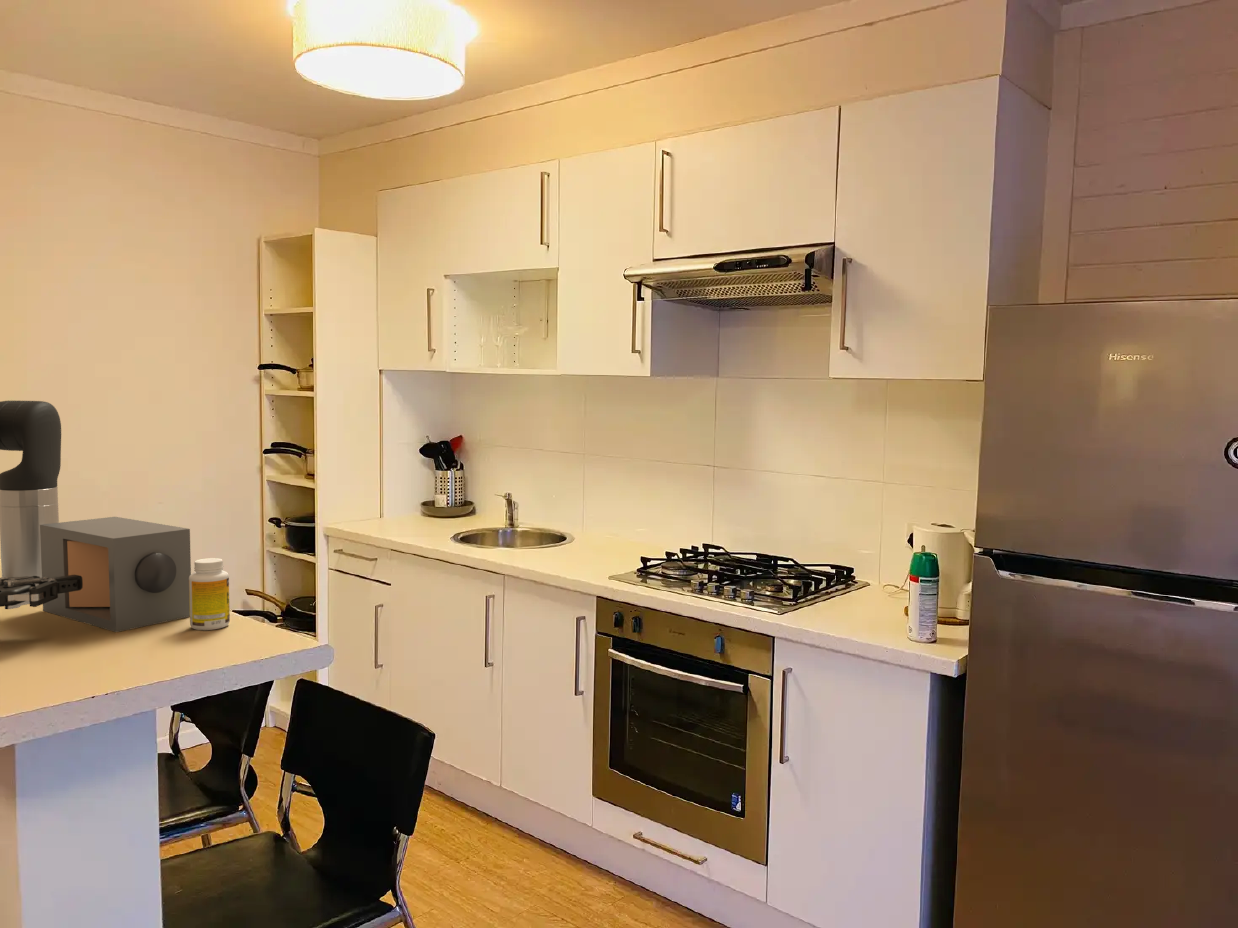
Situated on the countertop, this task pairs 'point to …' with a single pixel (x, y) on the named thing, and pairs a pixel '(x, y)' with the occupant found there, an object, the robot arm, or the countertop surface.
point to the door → (89, 574)
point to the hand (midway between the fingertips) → (79, 581)
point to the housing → (124, 570)
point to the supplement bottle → (209, 595)
